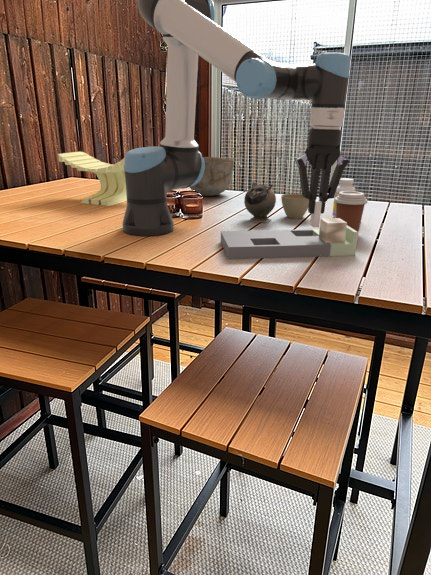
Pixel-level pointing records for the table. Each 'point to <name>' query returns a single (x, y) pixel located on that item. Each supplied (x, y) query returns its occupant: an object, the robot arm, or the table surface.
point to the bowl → (215, 176)
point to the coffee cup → (350, 207)
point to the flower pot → (294, 205)
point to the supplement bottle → (344, 185)
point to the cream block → (332, 230)
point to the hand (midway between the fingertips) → (314, 225)
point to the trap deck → (284, 244)
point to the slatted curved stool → (100, 177)
